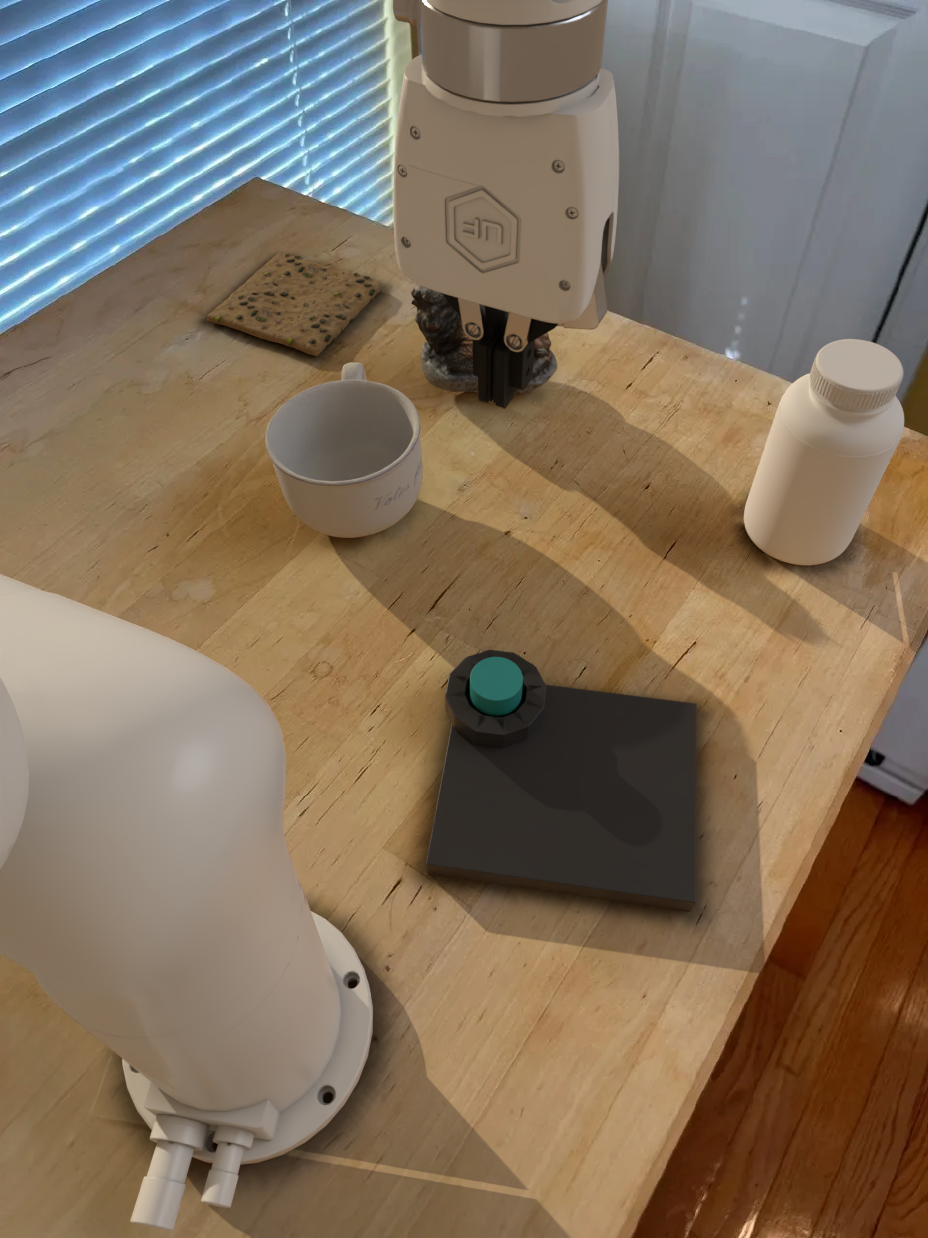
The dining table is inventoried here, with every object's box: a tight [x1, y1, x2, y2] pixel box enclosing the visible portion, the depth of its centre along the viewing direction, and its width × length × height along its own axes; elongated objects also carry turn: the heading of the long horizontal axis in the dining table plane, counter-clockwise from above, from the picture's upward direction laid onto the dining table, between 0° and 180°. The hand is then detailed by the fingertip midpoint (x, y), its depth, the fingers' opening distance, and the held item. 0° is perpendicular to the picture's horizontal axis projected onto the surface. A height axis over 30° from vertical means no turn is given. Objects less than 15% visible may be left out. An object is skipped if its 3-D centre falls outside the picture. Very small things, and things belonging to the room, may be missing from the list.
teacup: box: [264, 361, 424, 539], centre depth 69 cm, size 14×11×8 cm
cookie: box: [206, 252, 383, 357], centre depth 87 cm, size 12×12×1 cm
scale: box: [425, 649, 697, 912], centre depth 56 cm, size 14×16×3 cm
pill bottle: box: [743, 338, 905, 566], centre depth 64 cm, size 8×8×15 cm
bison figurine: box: [410, 285, 558, 395], centre depth 76 cm, size 12×7×10 cm, turn 98°
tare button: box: [470, 657, 523, 716], centre depth 57 cm, size 3×3×2 cm
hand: (502, 389), depth 53 cm, fingers closed
